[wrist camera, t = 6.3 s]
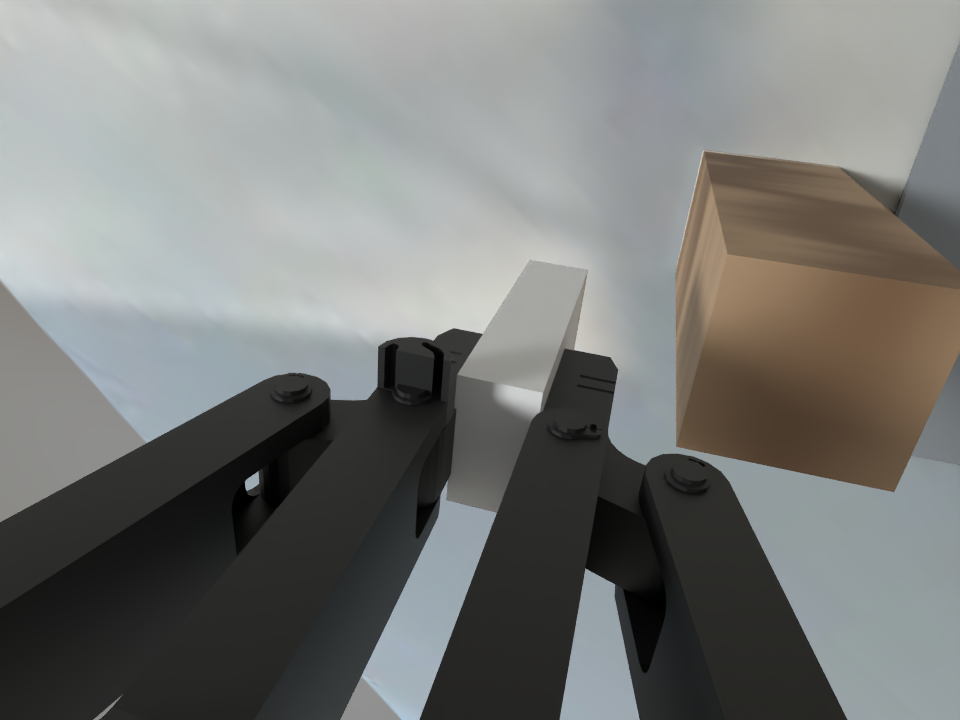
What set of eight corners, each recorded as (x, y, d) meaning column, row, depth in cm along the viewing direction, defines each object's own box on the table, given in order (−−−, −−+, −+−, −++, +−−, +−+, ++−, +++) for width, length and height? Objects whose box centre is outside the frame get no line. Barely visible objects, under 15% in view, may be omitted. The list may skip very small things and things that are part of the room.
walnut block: (675, 269, 29) (676, 446, 17) (703, 149, 26) (727, 254, 14) (798, 288, 28) (894, 492, 16) (837, 166, 25) (986, 293, 13)
